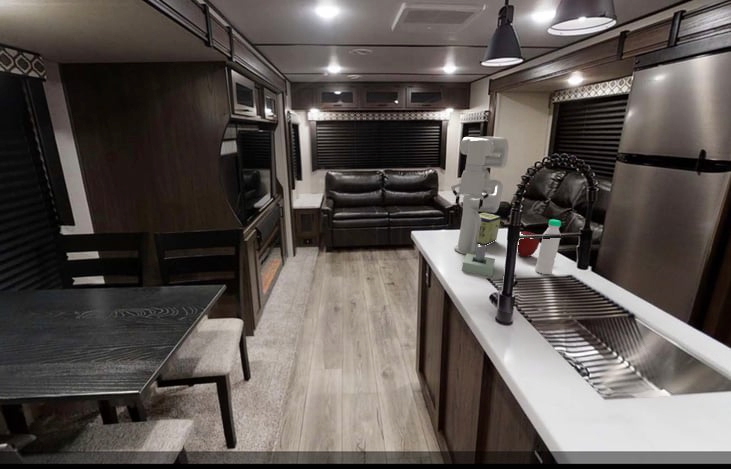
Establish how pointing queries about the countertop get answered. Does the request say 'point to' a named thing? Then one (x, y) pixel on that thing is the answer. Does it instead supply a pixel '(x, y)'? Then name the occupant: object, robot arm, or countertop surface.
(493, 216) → the protein box
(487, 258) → the socket block
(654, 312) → the countertop surface
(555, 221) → the water bottle
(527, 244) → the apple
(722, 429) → the countertop surface
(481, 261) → the peg
